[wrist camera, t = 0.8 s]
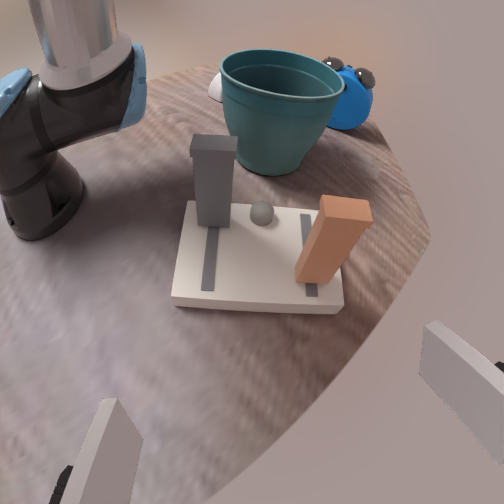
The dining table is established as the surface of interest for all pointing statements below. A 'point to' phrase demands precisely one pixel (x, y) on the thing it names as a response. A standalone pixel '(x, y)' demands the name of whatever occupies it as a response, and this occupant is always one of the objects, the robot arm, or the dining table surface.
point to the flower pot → (276, 106)
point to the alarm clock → (351, 95)
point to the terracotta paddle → (332, 238)
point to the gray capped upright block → (213, 177)
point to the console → (250, 263)
